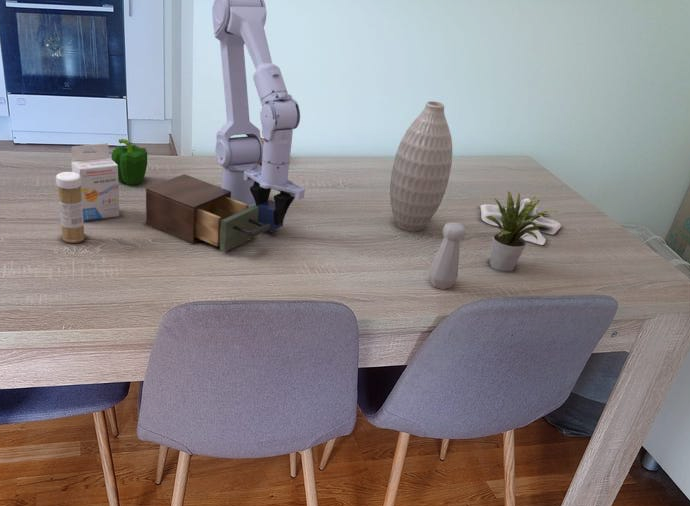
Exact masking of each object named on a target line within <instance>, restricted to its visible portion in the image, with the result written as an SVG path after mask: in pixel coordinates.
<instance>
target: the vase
mask: <svg viewBox="0 0 690 506" xmlns="http://www.w3.org/2000/svg"><path fill="white" fill-rule="evenodd" d="M452 139H453V138H452V134H451V130H450V126H449V124H448V121H447V118H446V114H445V104H444V103H442V102H439V101H435V100H430V101H427V102H426V103H425V106H424V109H422V111H421V113H420V114H419V115H418V116H417V117H416V118H415V119H414V120H413V122H412V123H411V124H410V125H409V127H408V128H407V129H406V131H405V133H403V136H402V138H401V140H400V142H399V145H398V147H397V150H396V153H395V157H394V160H393V164H392V169H391V171H392V172H391V176H390V184H389V199H390V207H391V208H390V209H391V213H392V216H393V218H394V221H395V223H396V226H397V227H398V228H400V229H401V230H404V231H408V232H419V231H421V230H422V229H424V227H426V226H427V225H428V223H430V221H431V220H432V219H433V217H434V215H435V214H436V213H437V211H438V209H439V207H440V205H441V203H442V201H443V199H444V196H445V194H446V190H447V187H448V183H449V179H450V176H451V170H452V166H453V165H452V164H453V140H452Z"/></svg>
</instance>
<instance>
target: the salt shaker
mask: <svg viewBox="0 0 690 506" xmlns="http://www.w3.org/2000/svg"><path fill="white" fill-rule="evenodd" d="M466 231H467V229H466V227H465V226H464V225H463V224H461V223H459V222H455V221H454V222H447V223H446V224H444V226H443V228H442V235H443V239H442V241H441V243H440V246H439V248H438V249H437V252H436V255H435V257H434V259H433V261H432V263H431V265H430V267H429V270H428V276H429V281H430V284H431V285H432V286H433V287H434V288H437V289H441V290H447V289H450V288H452V287H453V285H454V284H455V282H456V281H457V279H458V277H459V265H460V264H459V263H460V249H461V248H460V246H461V241H462V240H464V238H465V236H466V233H467V232H466Z"/></svg>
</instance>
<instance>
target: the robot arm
mask: <svg viewBox="0 0 690 506" xmlns="http://www.w3.org/2000/svg"><path fill="white" fill-rule="evenodd" d="M211 15H212V25H213V26H212V27H213V35H214V38H215V39H217V40H218V41H219V48H220V58H221V59H220V60H221V68H222V69H221V70H222V81H223V92H224V102H225V103H224V104H225V114H226V122H225V123H224V125H222V127H221V128H220V129H218V130H217V132H216V134H215V135H216V136H215V137H216V139H215V141H216V142H215V151H214V152H215V157H216V161H217V162H218V164H219V165H220V167H222V175H221V176H222V178H221V179H222V180H221V188H223V189H226V190H228V191H231V198H232V199H235V200H237V201H240V202H243V203H245V204H248V205H249V206H248V208H249V207H252V206H254V205H255V206H259V205H260V204H262V203H264V202H266V201H268V200H270V194H271V191H272V190H275V191H277V192H279V193H277V194H275V195H273V201H275V225H279V224H281V223H283V224H284V220H285V217H286V214H287V213H288V210H289V208H290V207H291V205H292V203H293V201H294V200H302V199H303V198H305V192H306V189H305V188H303V187H301V186H299V185H298V184H296V183H294V182H293V181H291V180H289V172H290V162H291V153H292V152H291V151H292V142H293V133H294V130H296V129H297V128H298V127H299V125H300V122H301V110H300V106H299V103H298V101H297V100H296V99H294V98H293V96H292V94H289V93H288V89H287V86H286V83H285V81H284V77H283V74H282V72H281V68H280V67H279V66H278V65H276V64H274V63H273V60H272V56H271V52H270V48H269V44H268V43H269V42H268V40H267V35H266V32H265V25H266V23H267V6H266V2H265V0H213V4H212V6H211ZM245 48H246V49H247V51H248V54H249V56H250V59H251V61H252V63H253V66H254V69H255V71H254V73H253V75H252V80H253V82H254V85H255V89H256V92H257V96H258V97H259V101H260V104H261V109H260V110H261V111H260V113H259V117H260V124H261V130H260V128H258V127H257V126H256V125H254V124H253V123H252V122H251V121H250V109H249V96H248V83H247V70H246V58H245V57H246V56H245ZM242 135H245V136H242ZM233 136H236V137H233ZM261 138H264V145H263V143H262V140H261ZM261 161H262V164H258V163H260V162H261Z"/></svg>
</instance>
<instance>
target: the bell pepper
mask: <svg viewBox="0 0 690 506" xmlns="http://www.w3.org/2000/svg"><path fill="white" fill-rule="evenodd" d="M118 143H119V144H125V146H126V147H125V146H122V145H117V146H116V147H115V149H113V150H112V153H111V159H112V160H113V161H114V162H115V163H116V164H117V165H118V182H121V183H125V184H126V185H132V186H133V185H139V184H141V183H142V182H143V181H144V180H145V176H146V173H147V167H148V150H147V149H146V148H145V147H139V146H138V145H136V144H132V145H131V143H130V142H129V141H128V139H125V138H119V139H118Z"/></svg>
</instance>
